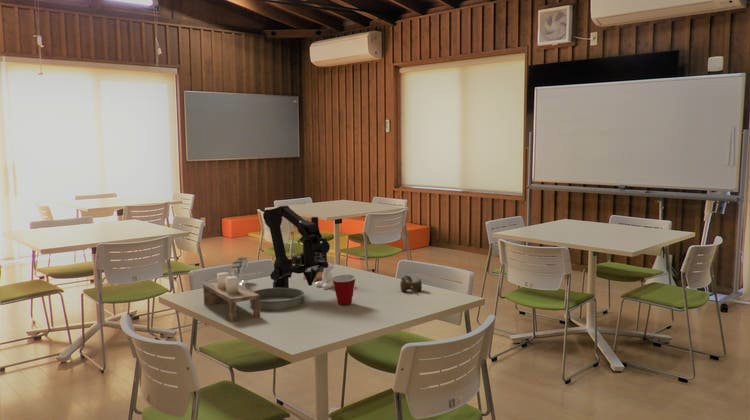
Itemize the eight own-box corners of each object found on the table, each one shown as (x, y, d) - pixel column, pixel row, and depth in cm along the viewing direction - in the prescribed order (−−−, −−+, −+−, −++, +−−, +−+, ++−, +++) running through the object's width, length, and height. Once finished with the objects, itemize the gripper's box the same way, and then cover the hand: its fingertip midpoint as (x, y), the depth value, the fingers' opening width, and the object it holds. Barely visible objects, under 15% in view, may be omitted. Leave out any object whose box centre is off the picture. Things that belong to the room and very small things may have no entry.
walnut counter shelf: (230, 300, 282) (229, 280, 281) (260, 316, 255) (259, 294, 254) (204, 304, 276) (203, 284, 275) (231, 321, 248) (230, 299, 247)
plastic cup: (326, 304, 273) (326, 277, 272) (344, 299, 281) (343, 273, 280) (344, 308, 266) (343, 280, 264) (361, 303, 274) (361, 276, 272)
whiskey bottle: (302, 278, 327) (300, 217, 324) (317, 275, 334) (316, 215, 330) (314, 281, 319) (313, 218, 316) (329, 278, 326) (328, 216, 323)
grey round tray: (260, 314, 259) (259, 303, 259) (239, 302, 280) (238, 292, 280) (313, 305, 272) (313, 295, 272) (290, 294, 293) (289, 285, 293)
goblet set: (242, 293, 296) (241, 265, 295) (229, 293, 296) (228, 265, 295) (249, 280, 324) (248, 254, 323) (238, 280, 324) (237, 255, 322)
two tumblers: (227, 285, 271) (226, 271, 271) (240, 292, 259) (239, 277, 258) (216, 287, 269) (215, 273, 268) (228, 293, 256) (228, 279, 255)
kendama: (416, 285, 310) (423, 294, 290) (396, 287, 309) (403, 295, 289) (415, 273, 309) (423, 281, 289) (396, 274, 308) (402, 282, 288)
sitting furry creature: (313, 286, 308) (313, 262, 307) (328, 283, 313) (328, 260, 312) (324, 289, 301) (323, 265, 299) (339, 287, 306) (338, 262, 305)
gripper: (311, 246, 296) (312, 279, 297) (281, 252, 282) (282, 286, 283) (328, 249, 289) (329, 282, 290) (298, 255, 274) (299, 290, 276)
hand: (310, 285), depth 285 cm, fingers closed
